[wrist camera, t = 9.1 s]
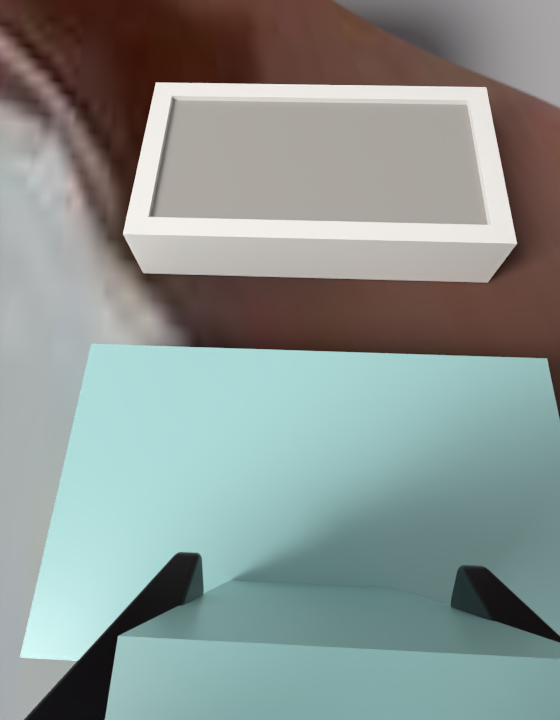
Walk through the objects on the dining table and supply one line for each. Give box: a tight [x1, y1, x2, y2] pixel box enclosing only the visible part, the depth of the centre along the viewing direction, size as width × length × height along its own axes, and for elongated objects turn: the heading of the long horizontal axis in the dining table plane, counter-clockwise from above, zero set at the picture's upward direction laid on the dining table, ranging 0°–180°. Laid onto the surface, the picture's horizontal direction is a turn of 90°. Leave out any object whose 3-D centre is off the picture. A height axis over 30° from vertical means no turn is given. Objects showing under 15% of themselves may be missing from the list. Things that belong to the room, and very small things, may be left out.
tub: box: [123, 83, 517, 283], centre depth 19 cm, size 8×14×2 cm, turn 88°
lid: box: [20, 344, 560, 720], centre depth 9 cm, size 9×15×10 cm, turn 88°
